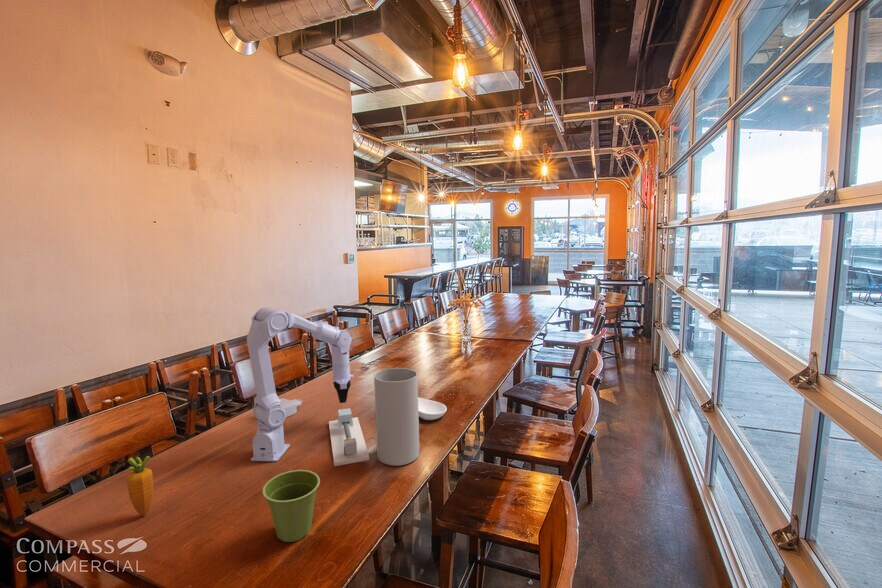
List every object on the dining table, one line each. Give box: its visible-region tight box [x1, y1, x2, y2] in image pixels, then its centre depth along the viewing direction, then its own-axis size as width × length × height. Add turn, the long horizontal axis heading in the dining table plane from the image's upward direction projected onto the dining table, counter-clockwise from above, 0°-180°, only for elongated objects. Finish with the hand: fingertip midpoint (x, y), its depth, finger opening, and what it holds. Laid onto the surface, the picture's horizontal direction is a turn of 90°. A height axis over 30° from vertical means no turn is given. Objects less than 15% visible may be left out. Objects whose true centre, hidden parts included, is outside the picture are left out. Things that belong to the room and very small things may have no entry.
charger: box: [279, 397, 304, 418], centre depth 156 cm, size 5×9×15 cm
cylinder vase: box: [373, 367, 420, 467], centre depth 122 cm, size 12×12×25 cm
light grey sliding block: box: [337, 408, 353, 428], centre depth 138 cm, size 5×4×4 cm
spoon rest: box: [418, 396, 447, 421], centre depth 152 cm, size 24×12×7 cm, turn 73°
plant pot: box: [262, 469, 321, 543], centre depth 92 cm, size 12×12×11 cm
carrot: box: [126, 455, 154, 517], centre depth 97 cm, size 5×5×15 cm
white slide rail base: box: [328, 416, 370, 467], centre depth 134 cm, size 29×10×6 cm, turn 18°
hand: (342, 402), depth 145 cm, fingers closed
